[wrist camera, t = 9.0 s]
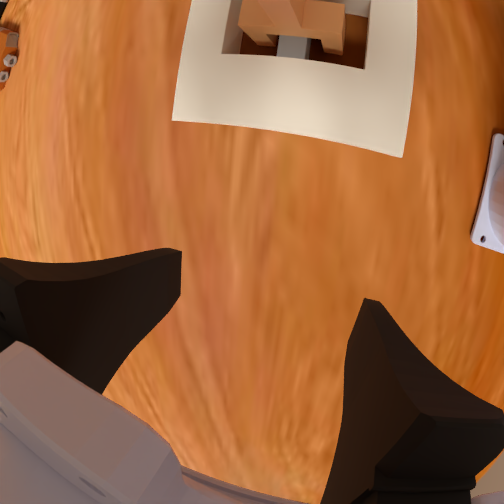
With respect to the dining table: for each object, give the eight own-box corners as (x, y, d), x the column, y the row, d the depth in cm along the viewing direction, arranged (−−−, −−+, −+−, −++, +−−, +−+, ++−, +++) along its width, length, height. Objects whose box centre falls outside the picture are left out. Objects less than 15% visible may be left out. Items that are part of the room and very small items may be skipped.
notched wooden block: (345, 30, 14) (342, -33, 7) (342, 55, 15) (339, 1, 8) (262, 21, 16) (214, -35, 8) (258, 45, 16) (207, -3, 9)
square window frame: (408, -20, 12) (415, -39, 9) (393, 155, 17) (402, 157, 14) (221, -35, 15) (205, -52, 12) (193, 122, 20) (171, 120, 17)
